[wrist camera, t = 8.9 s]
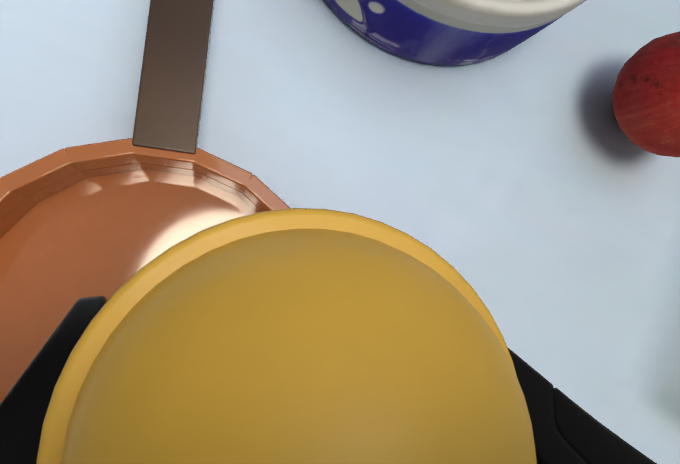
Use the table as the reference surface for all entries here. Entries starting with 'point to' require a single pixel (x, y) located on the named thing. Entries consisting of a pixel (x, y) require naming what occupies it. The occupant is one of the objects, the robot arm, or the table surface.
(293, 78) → the table surface
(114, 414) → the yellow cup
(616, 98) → the red rounded piece
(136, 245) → the pan
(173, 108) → the pan handle
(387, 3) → the dog bowl
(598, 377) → the table surface
